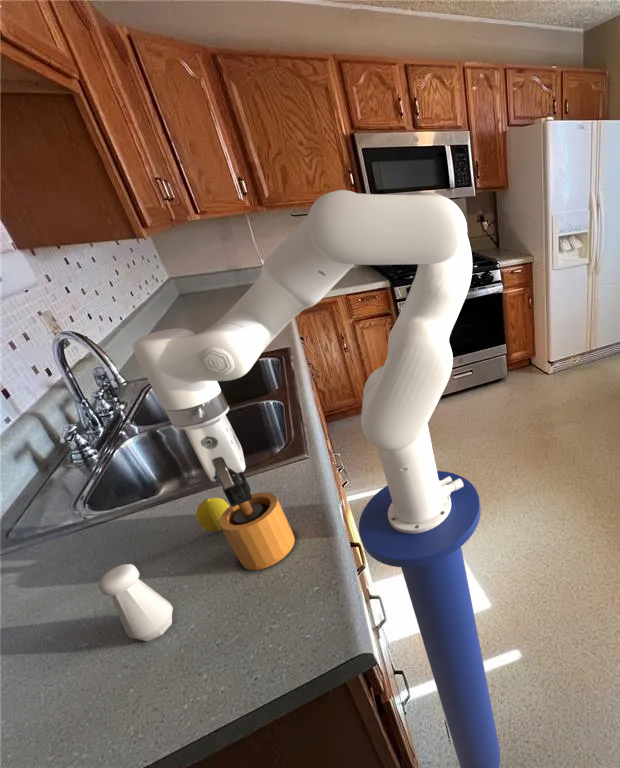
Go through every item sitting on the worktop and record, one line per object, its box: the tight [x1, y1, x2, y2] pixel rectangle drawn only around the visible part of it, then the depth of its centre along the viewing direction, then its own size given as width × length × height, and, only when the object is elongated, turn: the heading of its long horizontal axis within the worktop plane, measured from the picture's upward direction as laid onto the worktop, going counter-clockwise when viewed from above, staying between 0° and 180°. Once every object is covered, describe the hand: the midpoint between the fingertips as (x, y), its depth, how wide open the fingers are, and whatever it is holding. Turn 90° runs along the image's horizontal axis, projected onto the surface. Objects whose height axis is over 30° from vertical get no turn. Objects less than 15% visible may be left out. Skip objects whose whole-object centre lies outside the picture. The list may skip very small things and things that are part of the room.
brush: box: [231, 474, 265, 525], centre depth 73 cm, size 5×5×12 cm
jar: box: [219, 491, 296, 571], centre depth 76 cm, size 9×9×10 cm
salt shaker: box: [97, 563, 174, 642], centre depth 63 cm, size 6×6×13 cm
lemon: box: [195, 497, 231, 533], centre depth 82 cm, size 6×6×8 cm
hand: (241, 497), depth 73 cm, fingers closed on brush
